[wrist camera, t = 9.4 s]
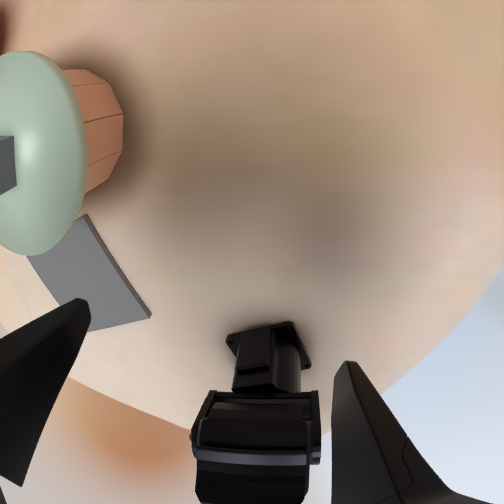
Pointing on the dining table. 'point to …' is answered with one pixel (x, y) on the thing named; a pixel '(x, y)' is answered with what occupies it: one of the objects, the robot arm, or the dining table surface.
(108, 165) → the bowl
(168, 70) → the dining table surface
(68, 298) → the mat
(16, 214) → the lid
